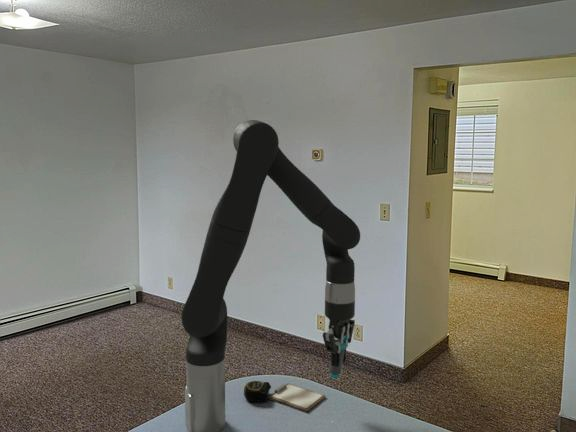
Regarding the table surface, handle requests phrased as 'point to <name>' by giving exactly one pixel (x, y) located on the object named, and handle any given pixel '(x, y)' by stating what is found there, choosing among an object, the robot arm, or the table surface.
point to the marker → (337, 370)
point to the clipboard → (296, 397)
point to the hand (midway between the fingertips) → (338, 363)
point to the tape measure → (257, 391)
